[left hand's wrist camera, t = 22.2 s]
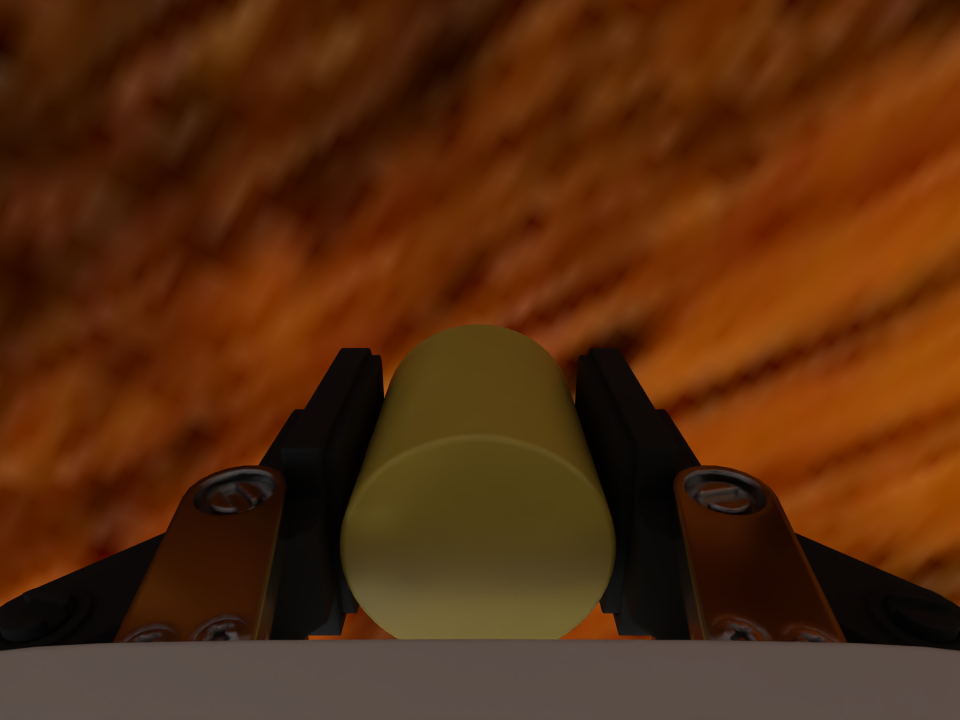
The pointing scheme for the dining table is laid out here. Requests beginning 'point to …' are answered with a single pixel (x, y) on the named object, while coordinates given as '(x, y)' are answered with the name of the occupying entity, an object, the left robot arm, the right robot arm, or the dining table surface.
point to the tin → (478, 497)
